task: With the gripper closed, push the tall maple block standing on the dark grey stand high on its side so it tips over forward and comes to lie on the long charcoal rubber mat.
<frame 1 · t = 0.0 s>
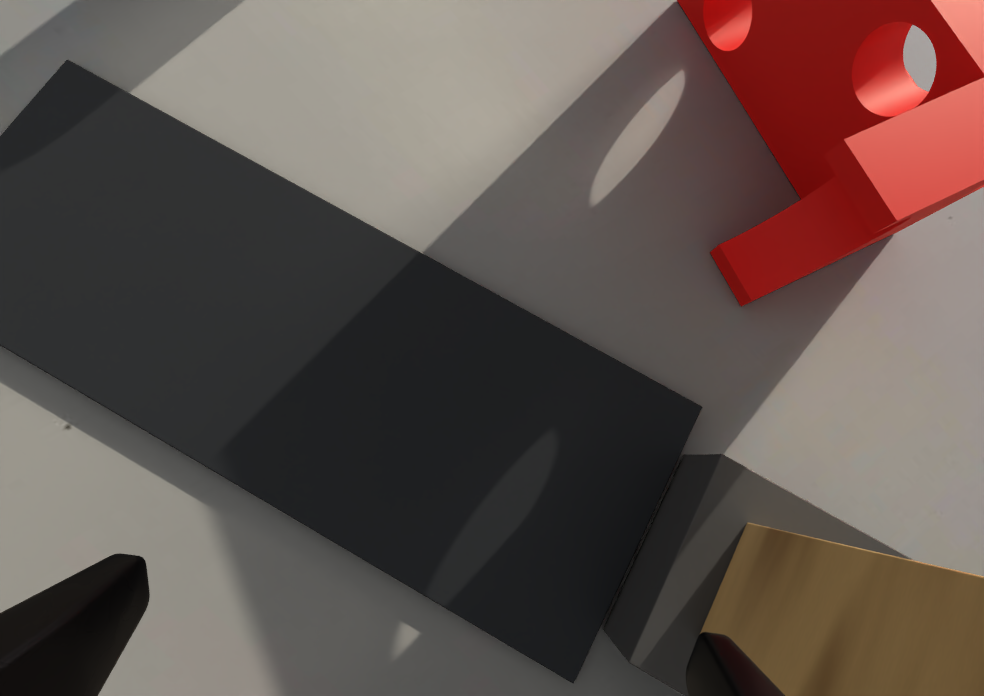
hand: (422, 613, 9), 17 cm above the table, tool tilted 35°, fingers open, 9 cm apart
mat: (298, 342, 26), on the table
maple block: (778, 611, 21), point 4 cm above the table, touching stand
bracket: (734, 132, 30), on the table
stand: (729, 587, 25), on the table
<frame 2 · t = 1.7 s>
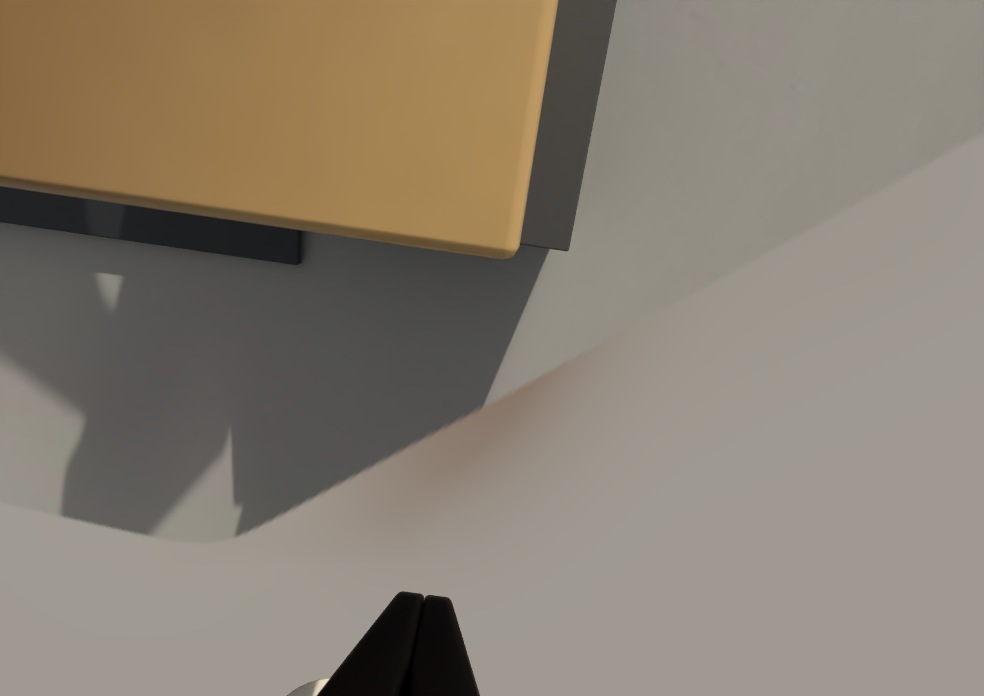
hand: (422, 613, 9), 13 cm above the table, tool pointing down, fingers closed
maple block: (431, 55, 14), point 4 cm above the table, touching stand
stand: (447, 75, 18), on the table
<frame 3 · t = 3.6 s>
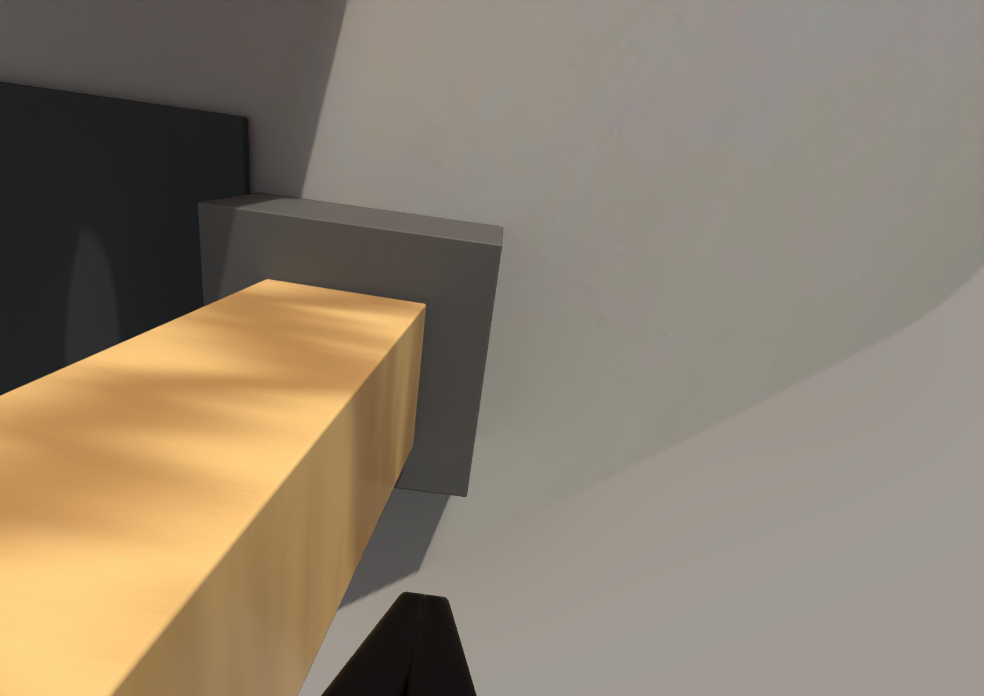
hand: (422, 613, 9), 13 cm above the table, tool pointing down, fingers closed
maple block: (343, 366, 17), point 4 cm above the table, touching gripper, stand
stand: (374, 326, 21), on the table
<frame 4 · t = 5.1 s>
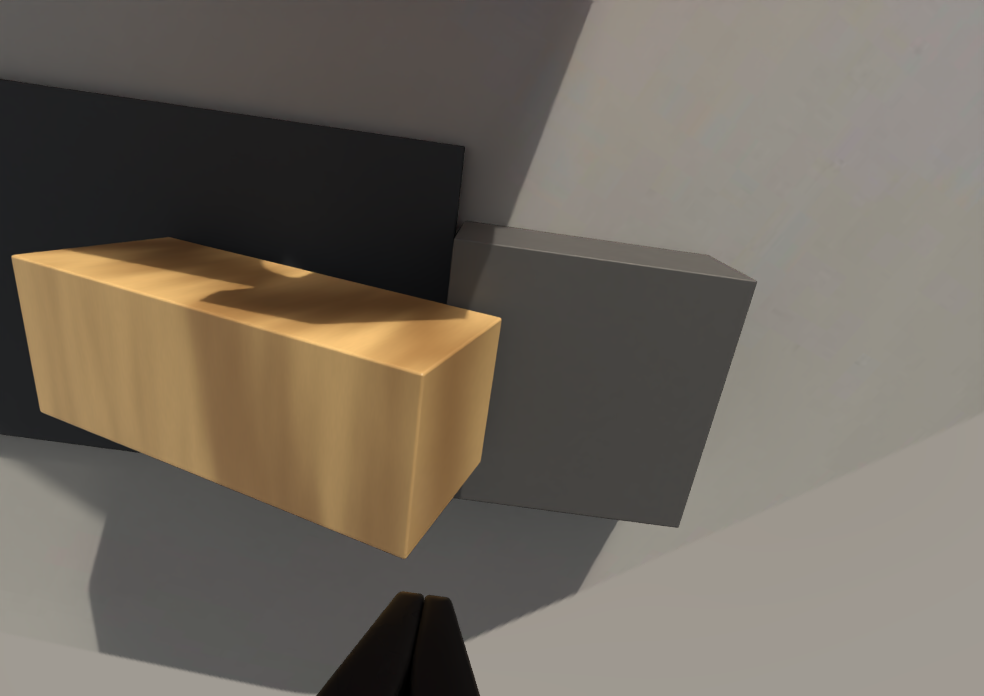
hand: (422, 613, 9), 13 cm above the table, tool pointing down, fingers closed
maple block: (458, 427, 14), point 7 cm above the table, tilted 109°, touching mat, stand
stand: (565, 352, 21), on the table
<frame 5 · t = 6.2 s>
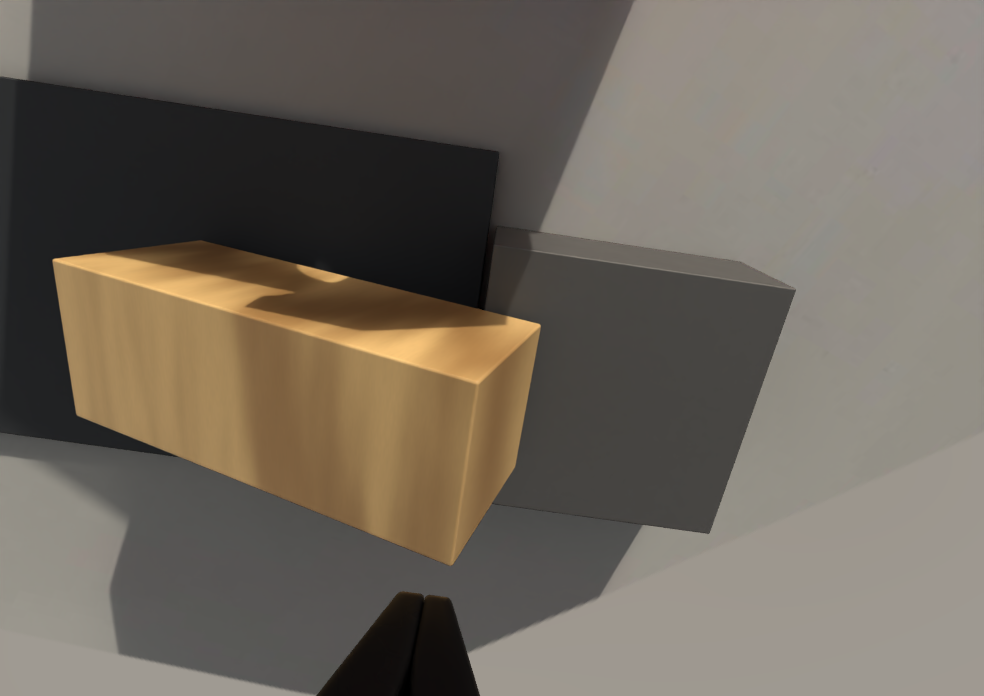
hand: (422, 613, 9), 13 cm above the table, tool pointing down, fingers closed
maple block: (501, 434, 14), point 7 cm above the table, tilted 109°, touching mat, stand
stand: (594, 357, 21), on the table
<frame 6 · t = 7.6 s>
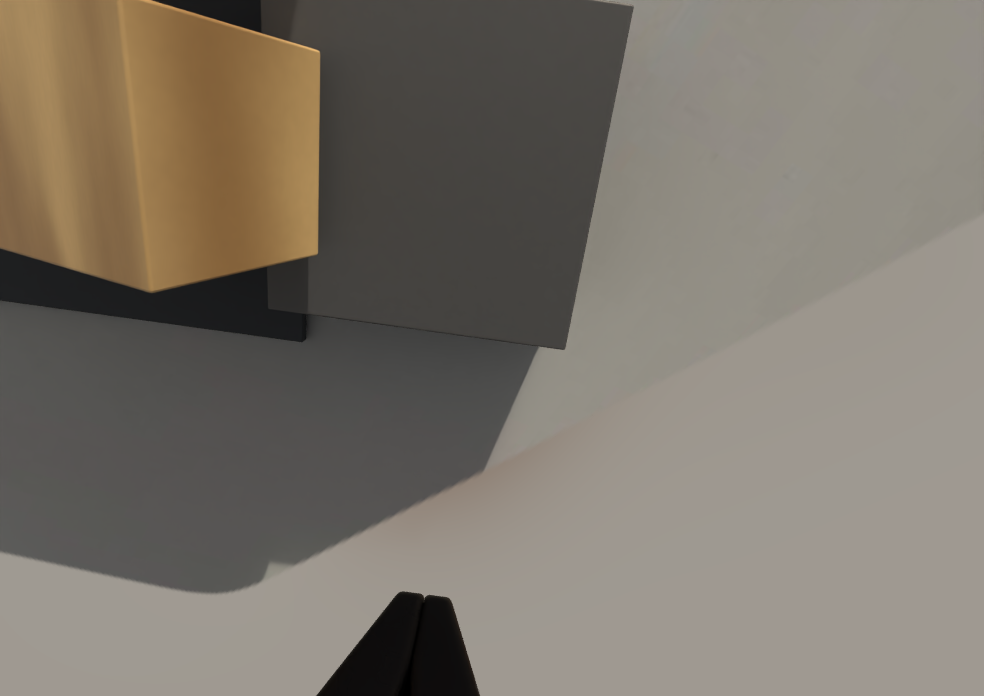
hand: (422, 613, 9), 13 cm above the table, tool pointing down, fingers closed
maple block: (246, 159, 11), point 7 cm above the table, tilted 109°, touching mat, stand
stand: (447, 166, 18), on the table
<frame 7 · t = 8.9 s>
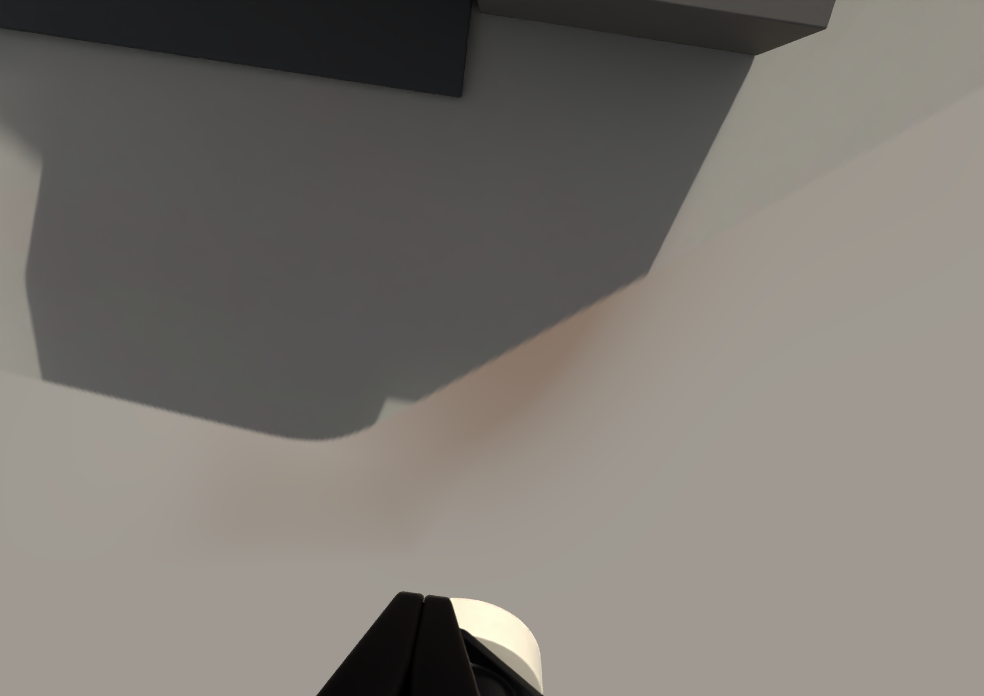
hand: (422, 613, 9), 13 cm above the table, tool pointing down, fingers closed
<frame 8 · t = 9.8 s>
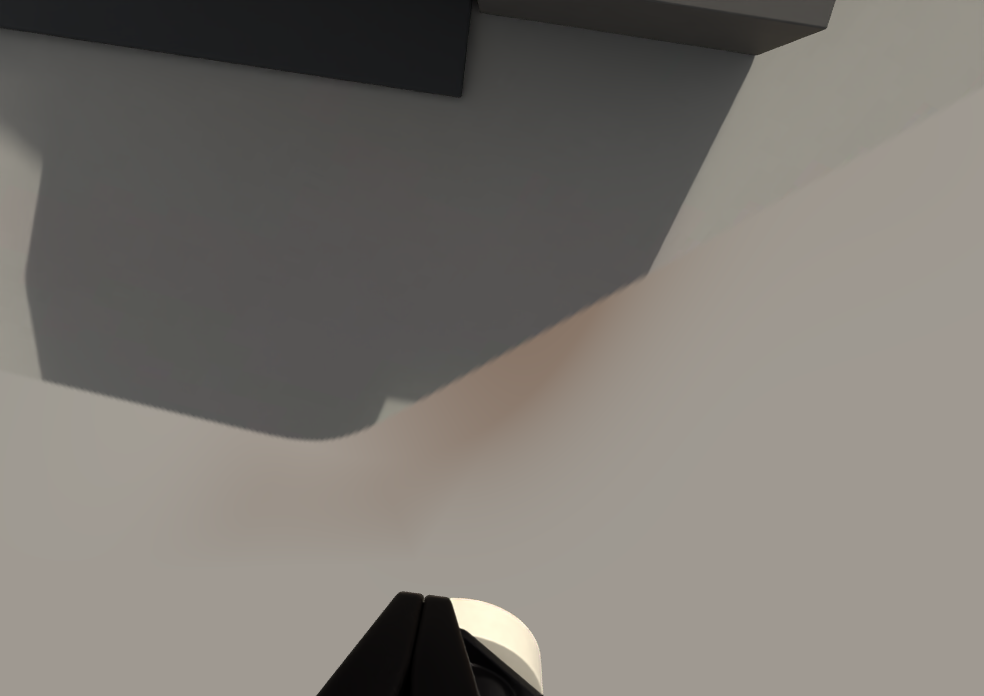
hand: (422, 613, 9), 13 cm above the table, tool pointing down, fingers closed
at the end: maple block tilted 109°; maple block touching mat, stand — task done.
